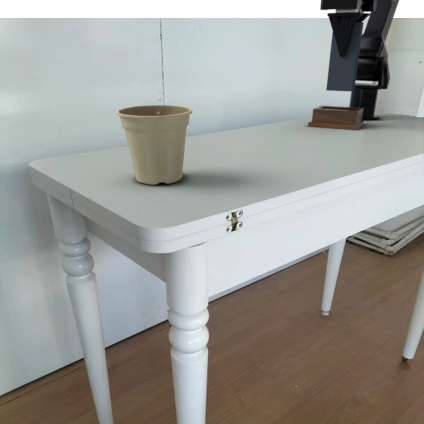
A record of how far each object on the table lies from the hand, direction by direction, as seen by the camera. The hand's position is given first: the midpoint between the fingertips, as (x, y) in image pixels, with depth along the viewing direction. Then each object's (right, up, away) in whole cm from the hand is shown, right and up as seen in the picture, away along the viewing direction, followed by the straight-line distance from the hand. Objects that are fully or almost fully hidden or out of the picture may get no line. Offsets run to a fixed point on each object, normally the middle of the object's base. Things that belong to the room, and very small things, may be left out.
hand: (344, 56), depth 86 cm
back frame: (+1, -10, +8) cm, 13 cm away
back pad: (0, -5, +3) cm, 6 cm away
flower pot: (-33, -31, -26) cm, 52 cm away
